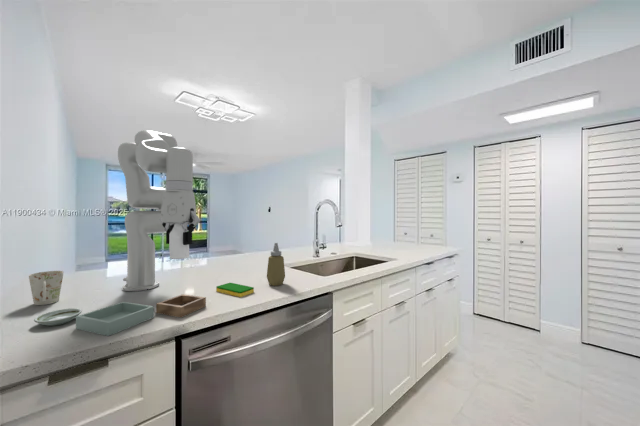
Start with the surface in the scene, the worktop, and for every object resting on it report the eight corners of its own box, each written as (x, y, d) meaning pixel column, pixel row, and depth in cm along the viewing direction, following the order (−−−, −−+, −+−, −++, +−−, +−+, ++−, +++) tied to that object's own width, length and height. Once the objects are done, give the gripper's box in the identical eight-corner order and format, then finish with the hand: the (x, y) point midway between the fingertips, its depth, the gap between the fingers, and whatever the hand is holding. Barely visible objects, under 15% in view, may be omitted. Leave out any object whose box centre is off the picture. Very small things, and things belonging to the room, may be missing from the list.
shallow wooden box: (156, 313, 83) (156, 303, 83) (182, 302, 92) (182, 294, 92) (181, 317, 80) (181, 307, 80) (205, 306, 89) (205, 297, 89)
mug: (63, 296, 98) (63, 269, 98) (63, 305, 89) (63, 275, 89) (29, 302, 92) (29, 273, 92) (26, 312, 83) (26, 279, 83)
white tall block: (193, 220, 87) (179, 220, 82) (193, 257, 87) (179, 260, 82) (179, 219, 89) (164, 220, 84) (179, 255, 89) (164, 258, 84)
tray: (75, 328, 72) (75, 316, 72) (123, 312, 84) (123, 301, 84) (108, 335, 68) (108, 322, 68) (153, 317, 79) (153, 306, 79)
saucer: (25, 332, 70) (25, 323, 70) (45, 319, 78) (45, 310, 78) (73, 326, 73) (73, 317, 73) (87, 314, 82) (87, 306, 82)
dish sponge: (240, 298, 99) (240, 291, 99) (215, 292, 106) (215, 286, 106) (254, 293, 105) (254, 287, 105) (230, 288, 112) (230, 282, 112)
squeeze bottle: (283, 287, 112) (284, 244, 112) (264, 286, 112) (264, 244, 112) (286, 282, 120) (286, 242, 120) (268, 281, 121) (268, 241, 120)
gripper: (148, 186, 84) (148, 244, 85) (192, 185, 79) (191, 246, 79) (168, 188, 92) (168, 241, 92) (210, 188, 86) (209, 243, 86)
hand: (179, 243), depth 85 cm, fingers closed on white tall block, 6 cm apart
